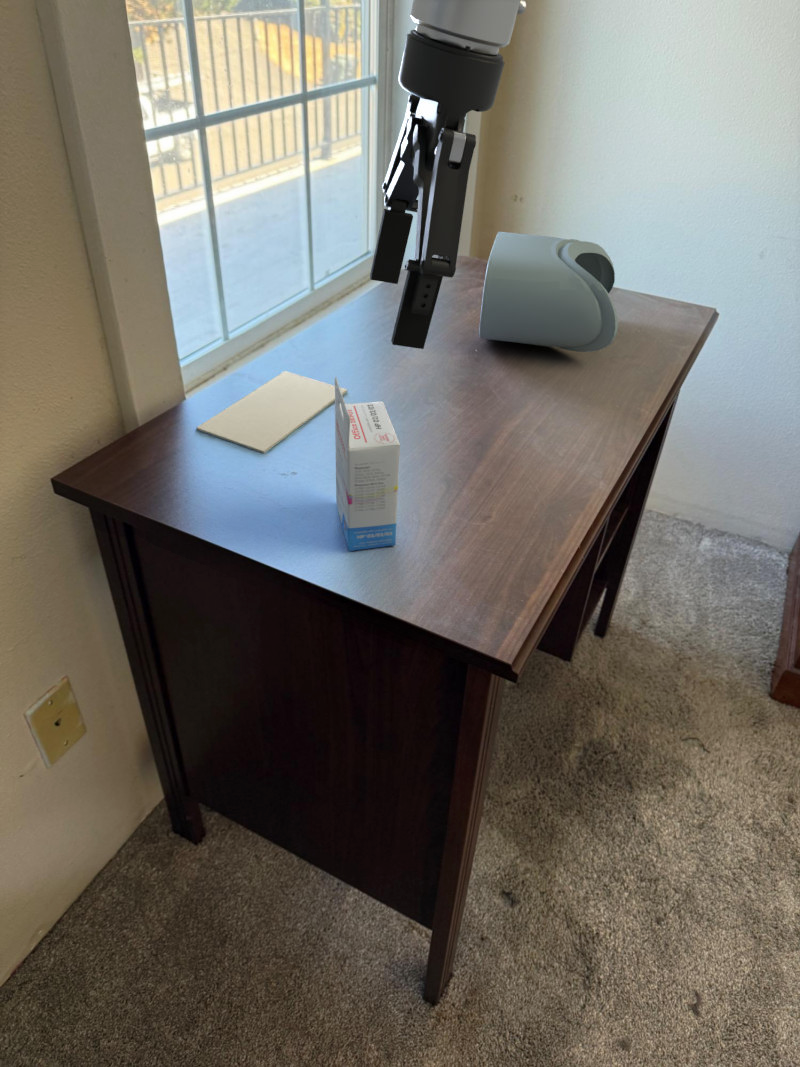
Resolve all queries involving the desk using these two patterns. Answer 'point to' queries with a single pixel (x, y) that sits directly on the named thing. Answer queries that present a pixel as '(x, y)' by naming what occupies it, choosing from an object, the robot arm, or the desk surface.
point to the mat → (271, 411)
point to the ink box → (366, 473)
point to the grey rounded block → (548, 293)
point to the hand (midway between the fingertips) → (394, 310)
